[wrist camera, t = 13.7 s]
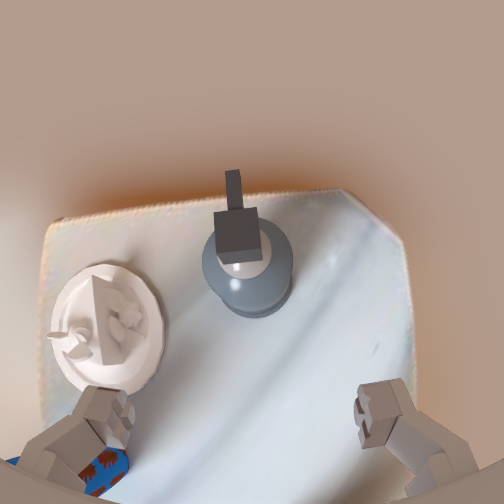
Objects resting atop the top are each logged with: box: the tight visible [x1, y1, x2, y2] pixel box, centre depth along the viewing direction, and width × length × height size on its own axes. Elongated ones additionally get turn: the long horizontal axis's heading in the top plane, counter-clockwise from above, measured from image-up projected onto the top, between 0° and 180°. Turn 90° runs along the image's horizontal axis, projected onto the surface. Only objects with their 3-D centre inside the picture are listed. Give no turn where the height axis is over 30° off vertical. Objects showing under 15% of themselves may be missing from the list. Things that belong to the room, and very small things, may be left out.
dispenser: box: [202, 218, 293, 318], centre depth 43 cm, size 12×12×18 cm
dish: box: [46, 264, 164, 396], centre depth 45 cm, size 25×25×11 cm
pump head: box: [214, 169, 263, 265], centre depth 32 cm, size 8×4×6 cm, turn 6°
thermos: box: [6, 446, 129, 498], centre depth 31 cm, size 11×11×25 cm
